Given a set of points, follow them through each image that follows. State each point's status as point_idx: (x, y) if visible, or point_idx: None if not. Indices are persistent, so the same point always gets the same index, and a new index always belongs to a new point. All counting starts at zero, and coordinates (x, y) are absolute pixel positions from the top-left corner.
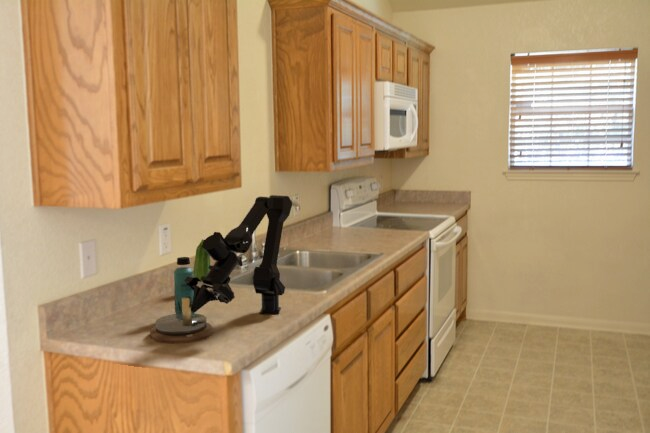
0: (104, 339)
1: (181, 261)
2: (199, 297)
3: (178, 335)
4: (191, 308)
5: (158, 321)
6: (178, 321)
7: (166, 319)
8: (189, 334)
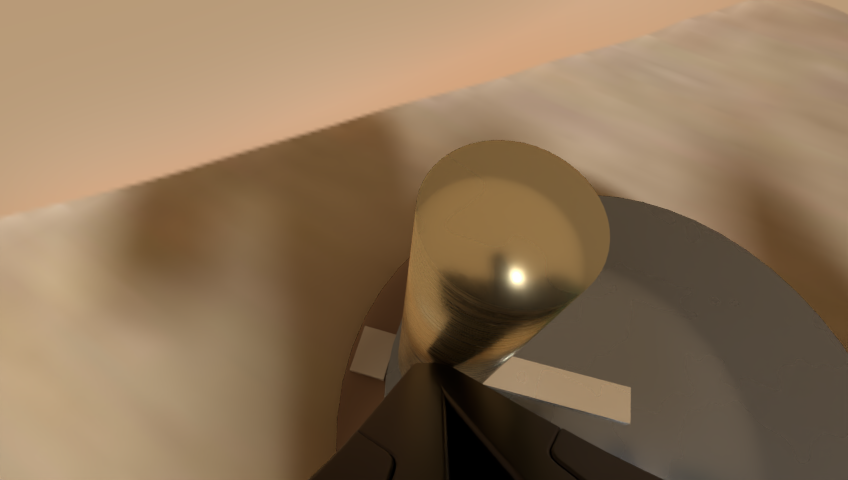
0: (714, 84)
1: None
2: (315, 478)
3: None
4: (452, 369)
5: (701, 244)
6: (607, 361)
7: (732, 320)
8: None
